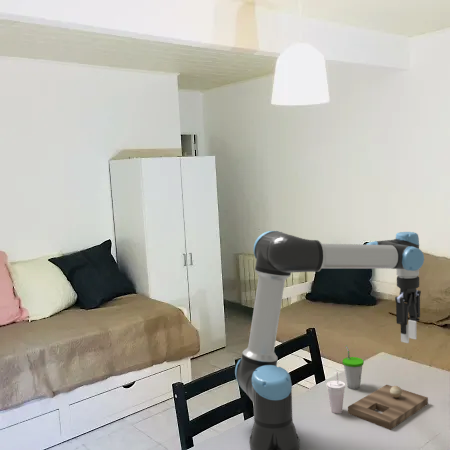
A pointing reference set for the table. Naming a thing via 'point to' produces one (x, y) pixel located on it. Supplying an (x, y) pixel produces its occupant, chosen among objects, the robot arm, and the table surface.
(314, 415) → the table surface
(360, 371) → the cup
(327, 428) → the table surface
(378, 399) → the brown wooden flat board
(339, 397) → the smoothie
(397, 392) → the ball
